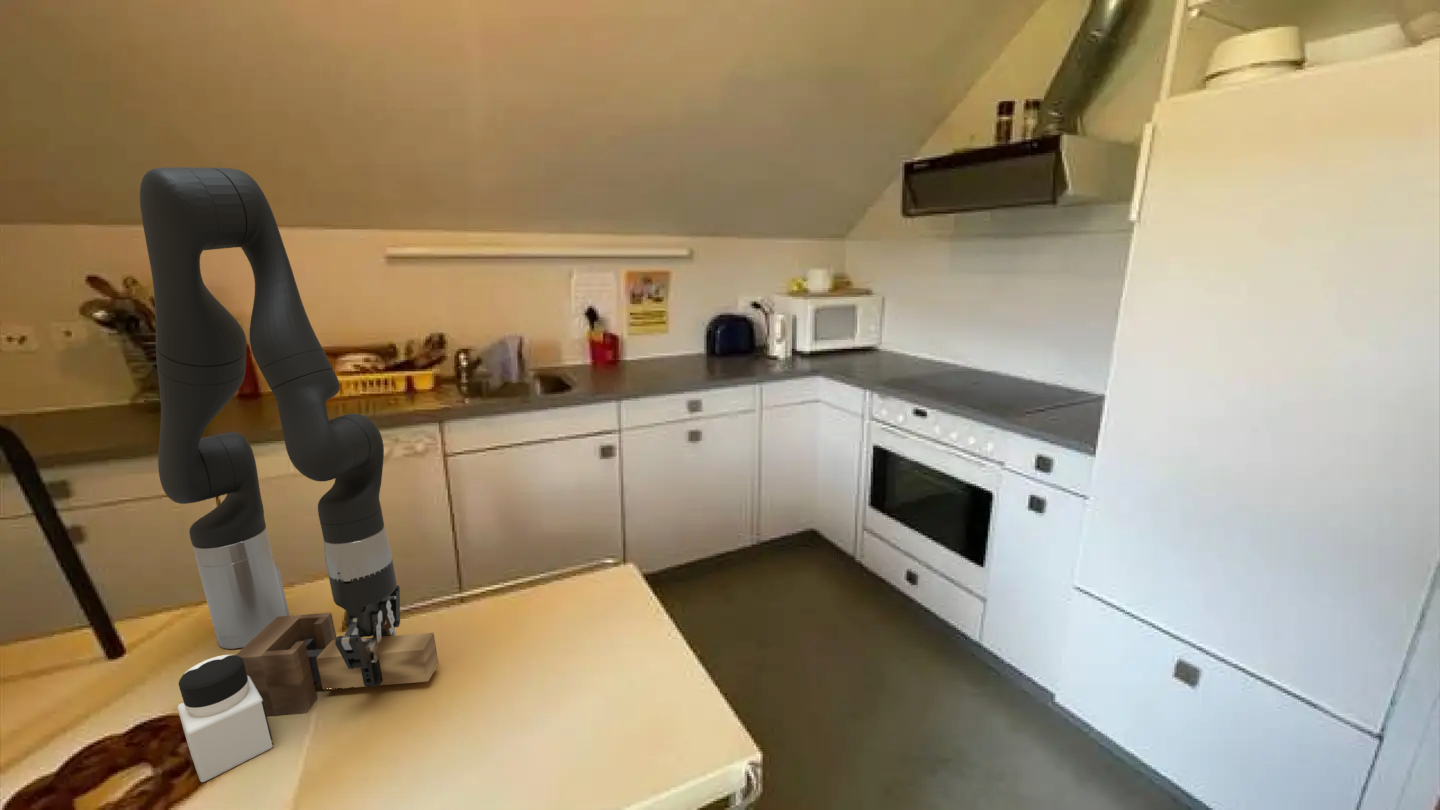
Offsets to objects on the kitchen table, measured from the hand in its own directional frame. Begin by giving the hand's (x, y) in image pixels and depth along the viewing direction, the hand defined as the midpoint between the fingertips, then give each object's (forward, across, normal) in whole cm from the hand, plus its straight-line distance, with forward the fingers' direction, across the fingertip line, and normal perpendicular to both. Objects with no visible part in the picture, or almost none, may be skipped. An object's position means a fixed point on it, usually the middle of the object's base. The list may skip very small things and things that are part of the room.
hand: (381, 673), depth 86 cm
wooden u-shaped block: (+2, 0, -12) cm, 12 cm away
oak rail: (+1, 0, -2) cm, 2 cm away
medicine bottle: (+2, +10, -13) cm, 17 cm away
